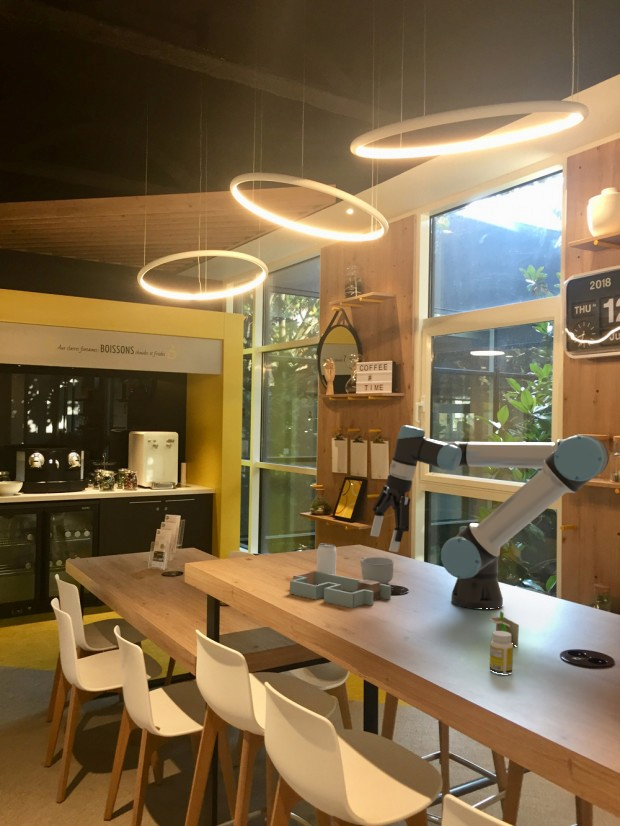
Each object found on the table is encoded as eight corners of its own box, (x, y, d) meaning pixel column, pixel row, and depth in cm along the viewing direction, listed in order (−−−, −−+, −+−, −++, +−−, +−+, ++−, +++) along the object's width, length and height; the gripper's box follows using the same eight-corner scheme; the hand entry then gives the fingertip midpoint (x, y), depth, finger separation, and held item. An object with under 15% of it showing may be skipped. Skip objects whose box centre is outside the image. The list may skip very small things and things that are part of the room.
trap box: (390, 599, 212) (391, 585, 212) (359, 609, 198) (359, 595, 199) (313, 582, 230) (313, 570, 230) (279, 591, 216) (280, 578, 216)
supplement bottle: (508, 668, 154) (509, 630, 154) (515, 676, 149) (516, 637, 149) (486, 668, 153) (488, 629, 154) (493, 675, 149) (494, 636, 149)
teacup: (398, 586, 230) (399, 562, 230) (369, 588, 226) (370, 563, 226) (379, 577, 243) (380, 554, 243) (351, 579, 239) (351, 555, 239)
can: (335, 579, 237) (337, 543, 237) (334, 583, 231) (336, 547, 231) (316, 578, 238) (318, 542, 238) (315, 582, 231) (316, 546, 231)
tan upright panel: (503, 650, 168) (504, 616, 168) (489, 641, 175) (490, 609, 175) (517, 649, 169) (519, 616, 169) (503, 640, 176) (504, 608, 176)
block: (379, 598, 213) (380, 582, 213) (370, 601, 209) (371, 584, 209) (365, 595, 216) (366, 579, 216) (356, 598, 212) (357, 581, 212)
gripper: (372, 464, 220) (356, 528, 222) (408, 485, 197) (390, 556, 199) (393, 468, 223) (377, 531, 225) (431, 489, 200) (413, 559, 202)
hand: (383, 543), depth 212 cm, fingers open, 13 cm apart
